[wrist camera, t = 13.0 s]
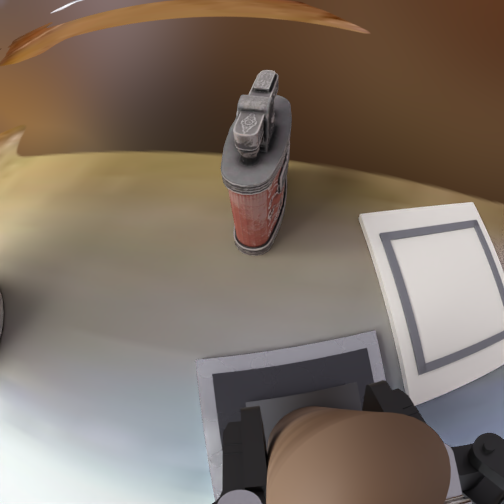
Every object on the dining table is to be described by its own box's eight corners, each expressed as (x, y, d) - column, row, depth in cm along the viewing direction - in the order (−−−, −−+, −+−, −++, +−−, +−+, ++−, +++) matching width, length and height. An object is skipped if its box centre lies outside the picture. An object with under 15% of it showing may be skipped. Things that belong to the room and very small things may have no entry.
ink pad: (222, 521, 13) (218, 529, 11) (198, 361, 18) (193, 358, 16) (395, 487, 13) (404, 492, 12) (371, 332, 18) (378, 328, 17)
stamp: (261, 491, 13) (251, 605, 3) (248, 401, 15) (213, 406, 5) (360, 472, 13) (471, 537, 3) (346, 383, 15) (457, 350, 6)
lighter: (274, 260, 21) (277, 151, 12) (225, 250, 21) (197, 143, 12) (292, 172, 24) (300, 64, 15) (252, 166, 25) (244, 59, 16)
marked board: (407, 407, 15) (412, 407, 15) (358, 218, 22) (360, 212, 21) (521, 352, 16) (527, 350, 15) (469, 205, 22) (473, 200, 21)
